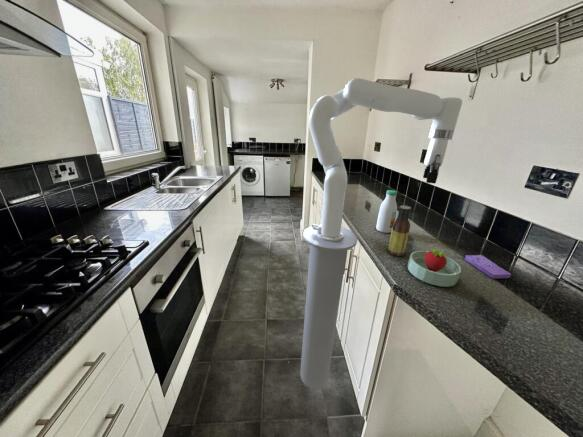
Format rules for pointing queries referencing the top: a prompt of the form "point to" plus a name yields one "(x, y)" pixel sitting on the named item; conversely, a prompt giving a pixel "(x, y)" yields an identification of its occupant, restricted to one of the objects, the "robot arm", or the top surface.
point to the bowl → (439, 278)
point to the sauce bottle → (400, 232)
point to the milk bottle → (387, 212)
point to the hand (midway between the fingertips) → (428, 180)
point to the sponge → (487, 266)
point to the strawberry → (435, 260)
